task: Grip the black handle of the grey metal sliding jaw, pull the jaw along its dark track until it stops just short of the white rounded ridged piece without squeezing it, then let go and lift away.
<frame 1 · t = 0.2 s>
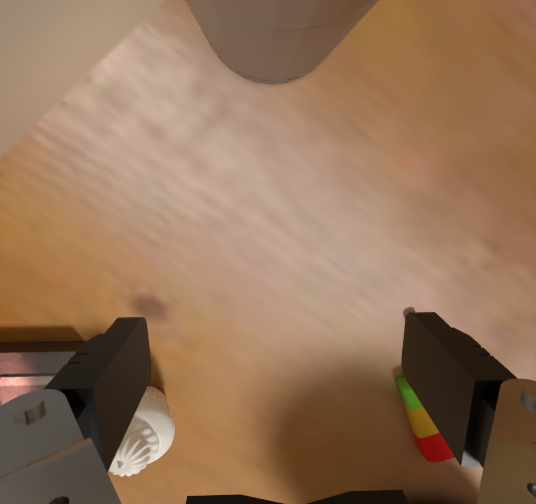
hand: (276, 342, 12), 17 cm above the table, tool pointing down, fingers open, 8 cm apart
white rounded ridged piece: (148, 398, 33), on the table
popsicle: (427, 380, 34), on the table
jaw track: (43, 402, 33), on the table
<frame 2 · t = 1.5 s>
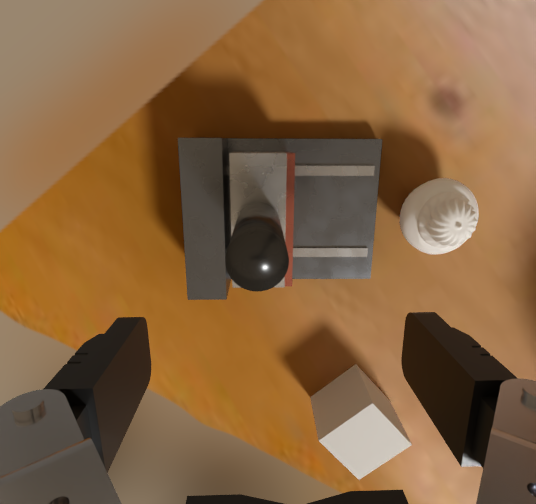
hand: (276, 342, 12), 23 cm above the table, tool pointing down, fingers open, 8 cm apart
white rounded ridged piece: (420, 209, 34), on the table
white cube: (349, 397, 39), on the table
sliding jaw: (262, 231, 25), point 8 cm above the table, slide at 0.0 cm
jaw track: (320, 209, 33), on the table
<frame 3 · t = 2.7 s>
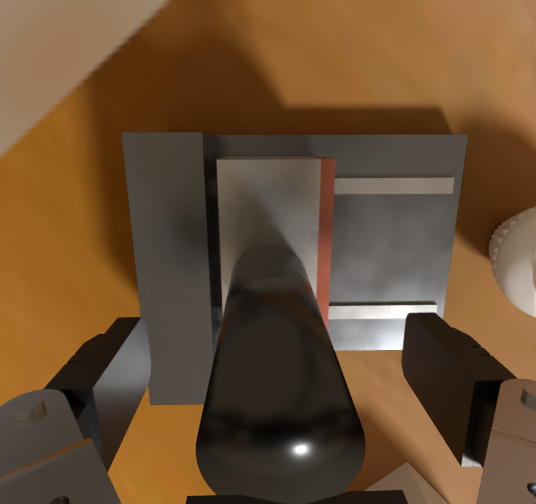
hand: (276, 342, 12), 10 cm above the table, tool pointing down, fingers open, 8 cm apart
white rounded ridged piece: (513, 241, 22), on the table
sliding jaw: (279, 307, 13), point 8 cm above the table, slide at 0.0 cm
jaw track: (362, 244, 22), on the table
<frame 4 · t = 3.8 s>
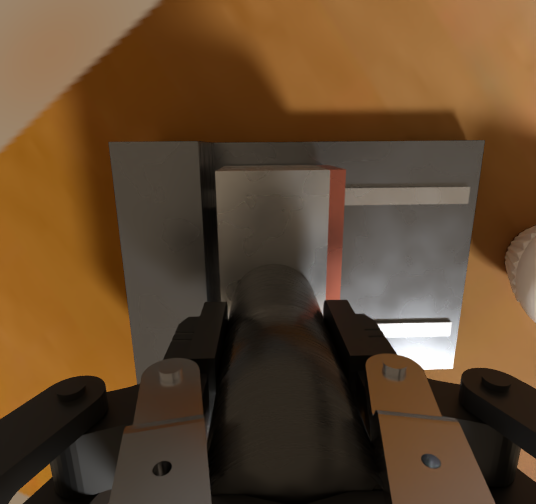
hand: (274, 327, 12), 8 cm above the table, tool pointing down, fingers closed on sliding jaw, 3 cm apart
white rounded ridged piece: (530, 253, 21), on the table
sliding jaw: (285, 335, 12), point 8 cm above the table, slide at 0.0 cm, touching gripper
jaw track: (370, 257, 20), on the table
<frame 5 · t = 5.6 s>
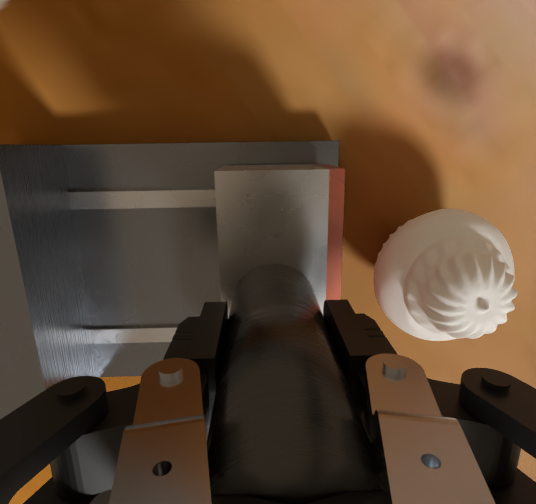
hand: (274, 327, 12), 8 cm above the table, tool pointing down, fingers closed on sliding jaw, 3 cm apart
white rounded ridged piece: (410, 254, 20), on the table
sliding jaw: (286, 335, 12), point 8 cm above the table, slide at 6.8 cm, touching gripper
jaw track: (245, 258, 20), on the table
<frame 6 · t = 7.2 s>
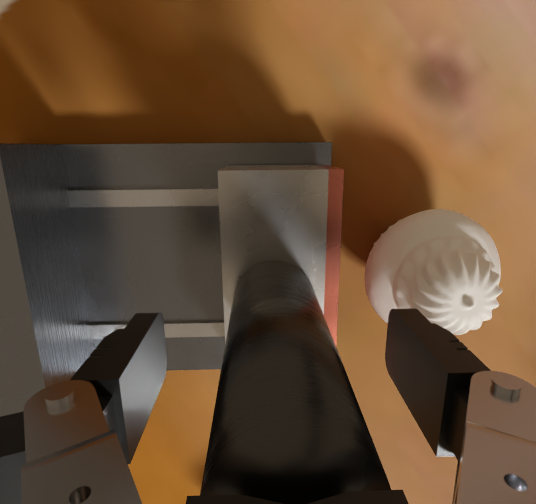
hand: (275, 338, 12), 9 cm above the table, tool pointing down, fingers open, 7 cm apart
white rounded ridged piece: (401, 253, 21), on the table
sliding jaw: (286, 328, 12), point 8 cm above the table, slide at 7.1 cm
jaw track: (241, 257, 21), on the table
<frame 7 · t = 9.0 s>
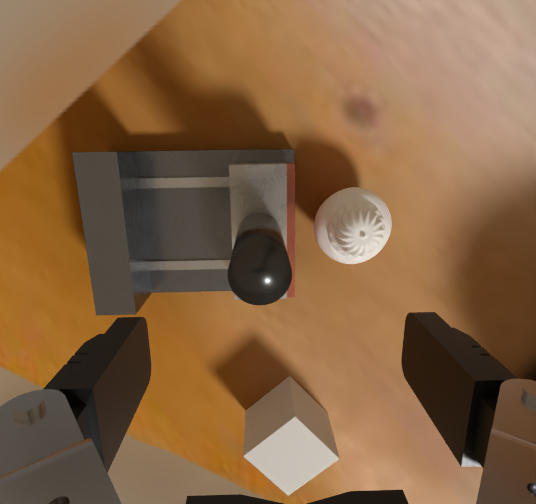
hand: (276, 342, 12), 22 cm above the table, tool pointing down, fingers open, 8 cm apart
white rounded ridged piece: (342, 218, 33), on the table
white cube: (286, 410, 39), on the table
sliding jaw: (264, 243, 25), point 9 cm above the table, slide at 7.1 cm
jaw track: (241, 220, 33), on the table
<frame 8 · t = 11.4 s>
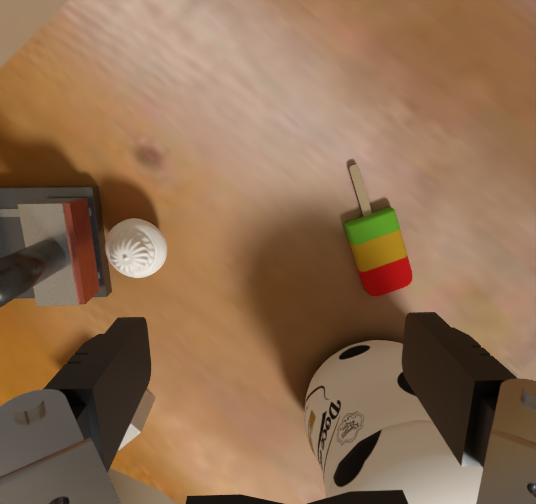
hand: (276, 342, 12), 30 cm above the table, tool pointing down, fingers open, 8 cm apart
white rounded ridged piece: (146, 239, 42), on the table
milk container: (367, 389, 48), on the table
white cube: (122, 394, 47), on the table
popsicle: (369, 228, 42), on the table
sliding jaw: (37, 264, 33), point 9 cm above the table, slide at 7.1 cm
jaw track: (63, 241, 41), on the table
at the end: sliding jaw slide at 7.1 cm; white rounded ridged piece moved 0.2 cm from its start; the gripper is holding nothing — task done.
